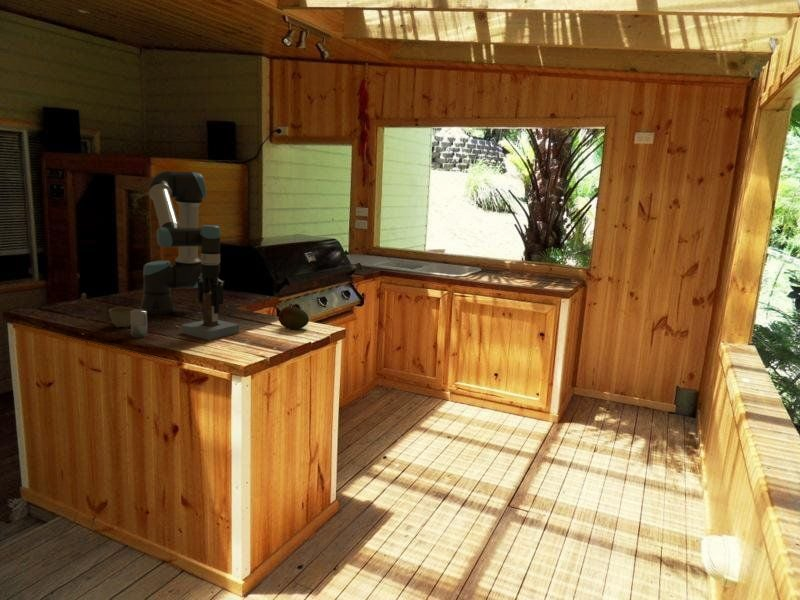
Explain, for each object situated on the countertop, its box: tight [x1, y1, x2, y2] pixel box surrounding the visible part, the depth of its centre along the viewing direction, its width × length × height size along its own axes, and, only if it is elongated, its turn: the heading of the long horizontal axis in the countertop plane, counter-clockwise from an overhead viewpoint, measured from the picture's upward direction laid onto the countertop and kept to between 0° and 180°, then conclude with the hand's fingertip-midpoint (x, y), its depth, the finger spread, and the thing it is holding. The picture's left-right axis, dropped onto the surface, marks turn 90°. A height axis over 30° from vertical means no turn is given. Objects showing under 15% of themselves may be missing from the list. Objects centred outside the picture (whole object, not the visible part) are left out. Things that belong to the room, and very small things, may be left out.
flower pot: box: [108, 306, 136, 328], centre depth 251 cm, size 10×10×7 cm
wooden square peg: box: [202, 291, 218, 327], centre depth 247 cm, size 4×4×14 cm
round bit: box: [130, 308, 149, 338], centre depth 238 cm, size 6×6×10 cm
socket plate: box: [180, 319, 240, 341], centre depth 249 cm, size 16×16×4 cm
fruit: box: [277, 306, 310, 330], centre depth 264 cm, size 12×12×10 cm
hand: (210, 320), depth 248 cm, fingers closed on wooden square peg, 4 cm apart
